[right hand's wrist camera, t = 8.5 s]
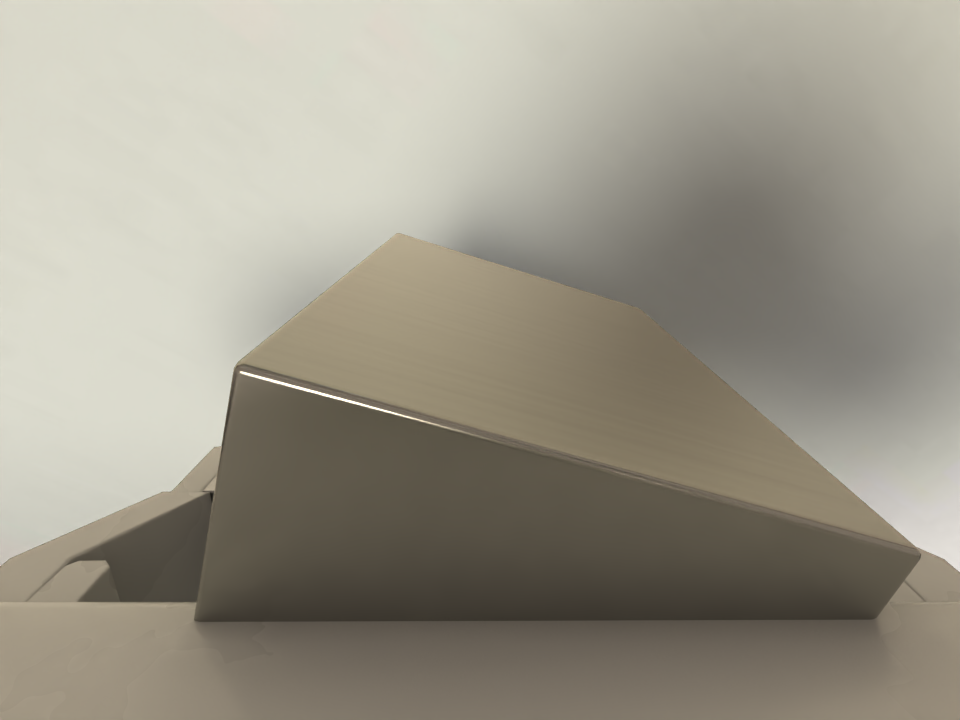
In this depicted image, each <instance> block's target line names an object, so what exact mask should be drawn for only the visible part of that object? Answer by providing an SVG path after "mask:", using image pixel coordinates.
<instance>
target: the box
mask: <svg viewBox="0 0 960 720" xmlns="http://www.w3.org/2000/svg"><path fill="white" fill-rule="evenodd" d="M920 558H921V553H920V551H919V549H918V548H916V547H915V546H914V545H913V544H912V543H911V542H910V541H908V540H907V539H906V538H905V537H904V536H903V535H901V534H900V533H899V532H898V531H897V530H896V529H894V528H893V527H892V526H891V525H890V524H889V523H888V522H886V521H885V520H884V519H883V518H882V517H881V516H879V515H878V514H877V513H876V512H875V511H874V510H872V509H871V508H870V507H869V506H868V505H867V504H866V503H864V502H863V501H862V500H861V499H860V498H859V497H857V496H856V495H855V494H854V493H853V492H852V491H850V490H849V489H848V488H847V487H846V486H845V485H844V484H842V483H841V482H840V481H839V480H838V479H837V478H835V477H834V476H833V475H832V474H831V473H830V472H828V471H827V470H826V469H825V468H824V467H823V466H822V465H820V464H819V463H818V462H817V461H816V460H815V459H813V458H812V457H811V456H810V455H809V454H808V453H806V452H805V451H804V450H803V449H802V448H801V447H800V446H798V445H797V444H796V443H795V442H794V441H793V440H791V439H790V438H789V437H788V436H787V435H786V434H784V433H783V432H782V431H781V430H780V429H779V428H778V427H776V426H775V425H774V424H773V423H772V422H771V421H769V420H768V419H767V418H766V417H765V416H764V415H762V414H761V413H760V412H759V411H758V410H757V409H756V408H754V407H753V406H752V405H751V404H750V403H749V402H747V401H746V400H745V399H744V398H743V397H742V396H740V395H739V394H738V393H737V392H736V391H735V390H734V389H732V388H731V387H730V386H729V385H728V384H727V383H725V382H724V381H723V380H722V379H721V378H720V377H718V376H717V375H716V374H715V373H714V372H713V371H712V370H710V369H709V368H708V367H707V366H706V365H705V364H703V363H702V362H701V361H700V360H699V359H698V358H696V357H695V356H694V355H693V354H692V353H691V352H690V351H688V350H687V349H686V348H685V347H684V346H683V345H681V344H680V343H679V342H678V341H677V340H676V339H674V338H673V337H672V336H671V335H670V334H669V333H668V332H666V331H665V330H664V329H663V328H662V327H661V326H659V325H658V324H657V323H656V322H655V321H654V320H652V319H651V318H650V317H649V316H648V315H647V314H646V313H644V312H643V311H642V310H641V309H640V308H637V307H634V306H631V305H628V304H624V303H621V302H618V301H615V300H612V299H608V298H605V297H602V296H599V295H596V294H592V293H589V292H586V291H583V290H580V289H576V288H573V287H570V286H567V285H564V284H560V283H557V282H554V281H551V280H548V279H544V278H541V277H538V276H535V275H532V274H528V273H525V272H522V271H519V270H516V269H512V268H509V267H506V266H503V265H500V264H496V263H493V262H490V261H487V260H484V259H480V258H477V257H474V256H471V255H468V254H464V253H461V252H458V251H455V250H452V249H448V248H445V247H442V246H439V245H436V244H432V243H429V242H426V241H423V240H420V239H416V238H413V237H410V236H407V235H404V234H400V233H397V234H395V235H394V236H393V237H392V238H390V239H389V240H388V241H387V242H385V243H384V244H383V245H382V246H380V247H379V248H378V249H377V250H376V251H374V252H373V253H372V254H371V255H369V256H368V257H367V258H366V259H364V260H363V261H362V262H361V263H360V264H358V265H357V266H356V267H355V268H353V269H352V270H351V271H350V272H348V273H347V274H346V275H345V276H343V277H342V278H341V279H340V280H339V281H337V282H336V283H335V284H334V285H332V286H331V287H330V288H329V289H327V290H326V291H325V292H324V293H323V294H321V295H320V296H319V297H318V298H316V299H315V300H314V301H313V302H311V303H310V304H309V305H308V306H306V307H305V308H304V309H303V310H302V311H300V312H299V313H298V314H297V315H295V316H294V317H293V318H292V319H290V320H289V321H288V322H287V323H285V324H284V325H283V326H282V327H281V328H279V329H278V330H277V331H276V332H274V333H273V334H272V335H271V336H269V337H268V338H267V339H266V340H265V341H263V342H262V343H261V344H260V345H258V346H257V347H256V348H255V349H253V350H252V351H251V352H250V353H248V354H247V355H246V356H245V357H244V358H242V359H241V360H240V361H239V362H238V363H237V364H236V366H235V367H234V371H233V377H232V383H231V390H230V396H229V402H228V408H227V415H226V421H225V427H224V433H223V440H222V446H221V452H220V458H219V465H218V471H217V477H216V483H215V490H214V496H213V502H212V508H211V514H210V521H209V527H208V533H207V539H206V546H205V552H204V558H203V564H202V571H201V577H200V583H199V589H198V596H197V602H196V608H195V614H194V620H195V621H198V622H320V621H618V620H873V619H875V618H877V617H878V615H879V614H880V613H881V611H882V610H883V609H884V607H885V606H886V605H887V603H888V602H889V601H890V599H891V598H892V597H893V595H894V594H895V592H896V591H897V590H898V588H899V587H900V586H901V584H902V583H903V582H904V580H905V579H906V578H907V576H908V575H909V574H910V572H911V571H912V570H913V568H914V567H915V566H916V564H917V563H918V562H919V560H920Z"/></svg>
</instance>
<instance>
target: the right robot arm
mask: <svg viewBox="0 0 960 720" xmlns="http://www.w3.org/2000/svg"><path fill="white" fill-rule="evenodd" d="M220 452H221V446H219V447H214V448H213V449H212V450H211V451H210V452H209V453H208V454H207V455H206V456H205V457H204V458H203V459H202V460H201V461H200V462H199V463H198V465H197V466H196V467H195V468H194V469H193V470H192V471H191V472H190V473H189V474H188V475H187V476H186V477H185V478H184V479H183V480H182V481H181V482H180V483H179V484H178V485H177V486H176V487H175V488H174V489H173V490H172V491H171V492H161V493H159V494H156V495H154V496H152V497H150V498H147V499H145V500H143V501H140V502H138V503H136V504H134V505H131V506H129V507H127V508H124V509H122V510H120V511H118V512H115V513H113V514H111V515H108V516H106V517H104V518H102V519H99V520H97V521H95V522H92V523H90V524H88V525H86V526H83V527H81V528H79V529H76V530H74V531H72V532H69V533H67V534H65V535H63V536H60V537H58V538H56V539H53V540H51V541H49V542H47V543H44V544H42V545H40V546H37V547H35V548H33V549H31V550H28V551H26V552H24V553H21V554H19V555H17V556H15V557H12V558H10V559H9V560H8V561H6V562H5V563H4V564H3V565H2V566H0V720H960V572H959V571H957V570H956V569H955V568H954V567H953V566H951V565H950V564H949V563H948V562H947V561H946V560H944V559H942V558H940V557H938V556H936V555H933V554H931V553H929V552H926V551H924V550H922V549H920V548H918V549H919V551H920V553H921V558H920V560H919V562H918V563H917V564H916V566H915V567H914V568H913V570H912V571H911V572H910V574H909V575H908V576H907V578H906V579H905V580H904V582H903V583H902V584H901V586H900V587H899V588H898V590H897V591H896V592H895V594H894V595H893V597H892V598H891V599H890V601H889V602H888V603H887V605H886V606H885V607H884V609H883V610H882V611H881V613H880V614H879V615H878V617H877V618H875V619H873V620H618V621H320V622H198V621H195V620H194V614H195V608H196V602H197V596H198V589H199V583H200V577H201V571H202V564H203V558H204V552H205V546H206V539H207V533H208V527H209V521H210V514H211V508H212V502H213V496H214V490H215V483H216V477H217V471H218V465H219V458H220ZM916 548H917V547H916Z"/></svg>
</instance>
